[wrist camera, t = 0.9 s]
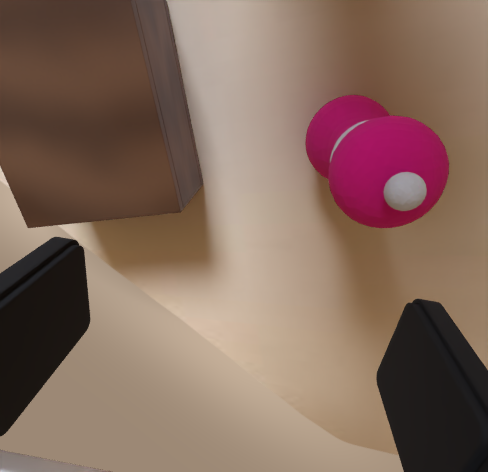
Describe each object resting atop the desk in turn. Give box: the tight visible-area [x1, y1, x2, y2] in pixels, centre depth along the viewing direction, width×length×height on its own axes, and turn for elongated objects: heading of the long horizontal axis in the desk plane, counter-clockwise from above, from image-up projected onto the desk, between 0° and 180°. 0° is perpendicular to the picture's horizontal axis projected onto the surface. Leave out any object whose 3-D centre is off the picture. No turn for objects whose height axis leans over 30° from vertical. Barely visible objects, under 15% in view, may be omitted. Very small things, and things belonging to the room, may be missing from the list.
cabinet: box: [0, 0, 203, 228], centre depth 30 cm, size 17×15×9 cm
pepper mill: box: [306, 95, 449, 228], centre depth 23 cm, size 7×7×20 cm
